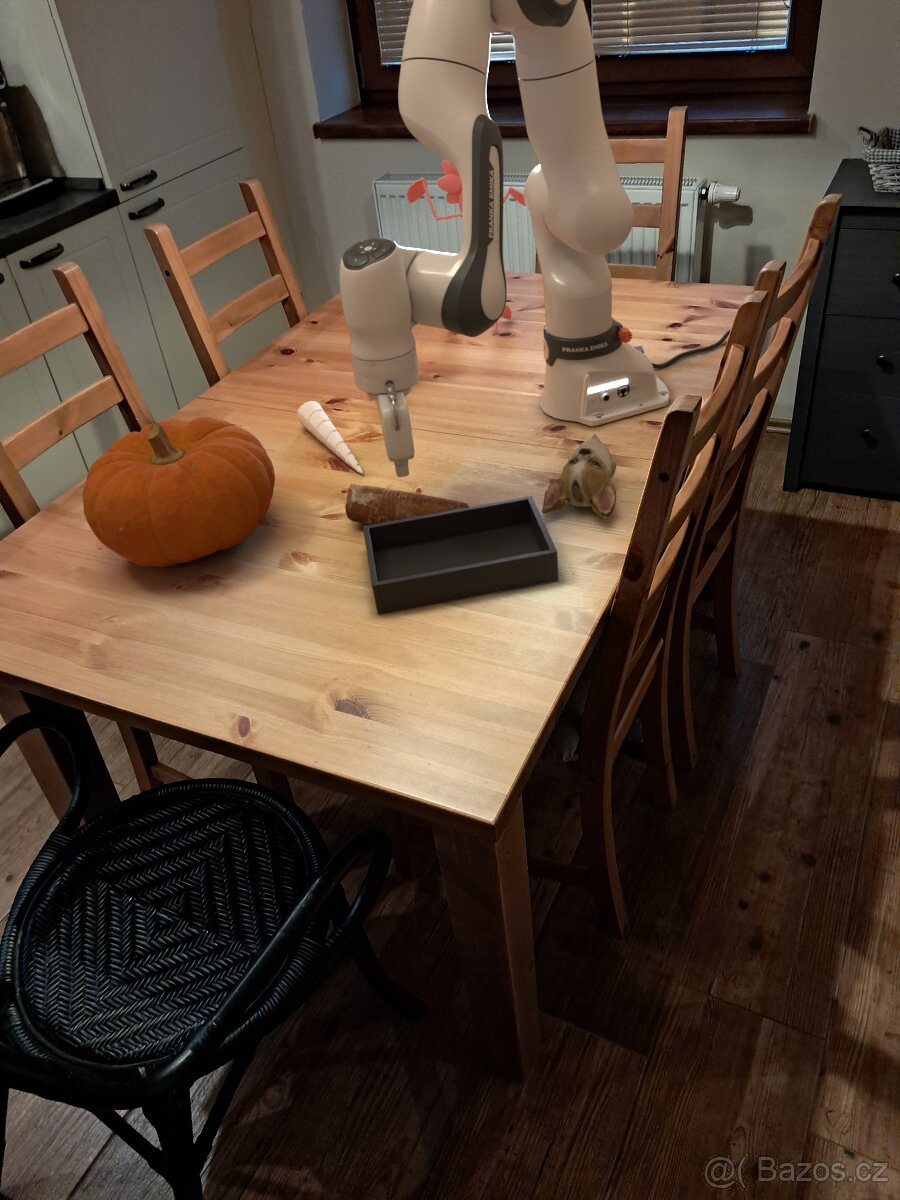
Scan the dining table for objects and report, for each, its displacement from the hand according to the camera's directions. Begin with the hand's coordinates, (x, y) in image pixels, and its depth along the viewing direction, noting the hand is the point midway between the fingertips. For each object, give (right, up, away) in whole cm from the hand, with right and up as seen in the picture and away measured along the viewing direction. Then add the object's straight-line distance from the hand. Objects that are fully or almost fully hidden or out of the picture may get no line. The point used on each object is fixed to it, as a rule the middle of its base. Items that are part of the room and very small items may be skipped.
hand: (399, 458), depth 131 cm
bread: (+2, -8, +7) cm, 11 cm away
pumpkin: (-32, -11, +10) cm, 35 cm away
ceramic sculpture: (+28, -6, +6) cm, 29 cm away
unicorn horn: (-13, +6, +28) cm, 32 cm away
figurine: (+15, +40, +66) cm, 79 cm away
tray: (+9, -16, -4) cm, 19 cm away
